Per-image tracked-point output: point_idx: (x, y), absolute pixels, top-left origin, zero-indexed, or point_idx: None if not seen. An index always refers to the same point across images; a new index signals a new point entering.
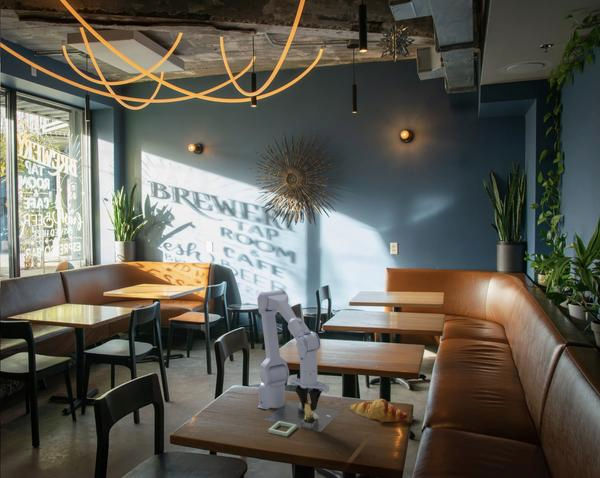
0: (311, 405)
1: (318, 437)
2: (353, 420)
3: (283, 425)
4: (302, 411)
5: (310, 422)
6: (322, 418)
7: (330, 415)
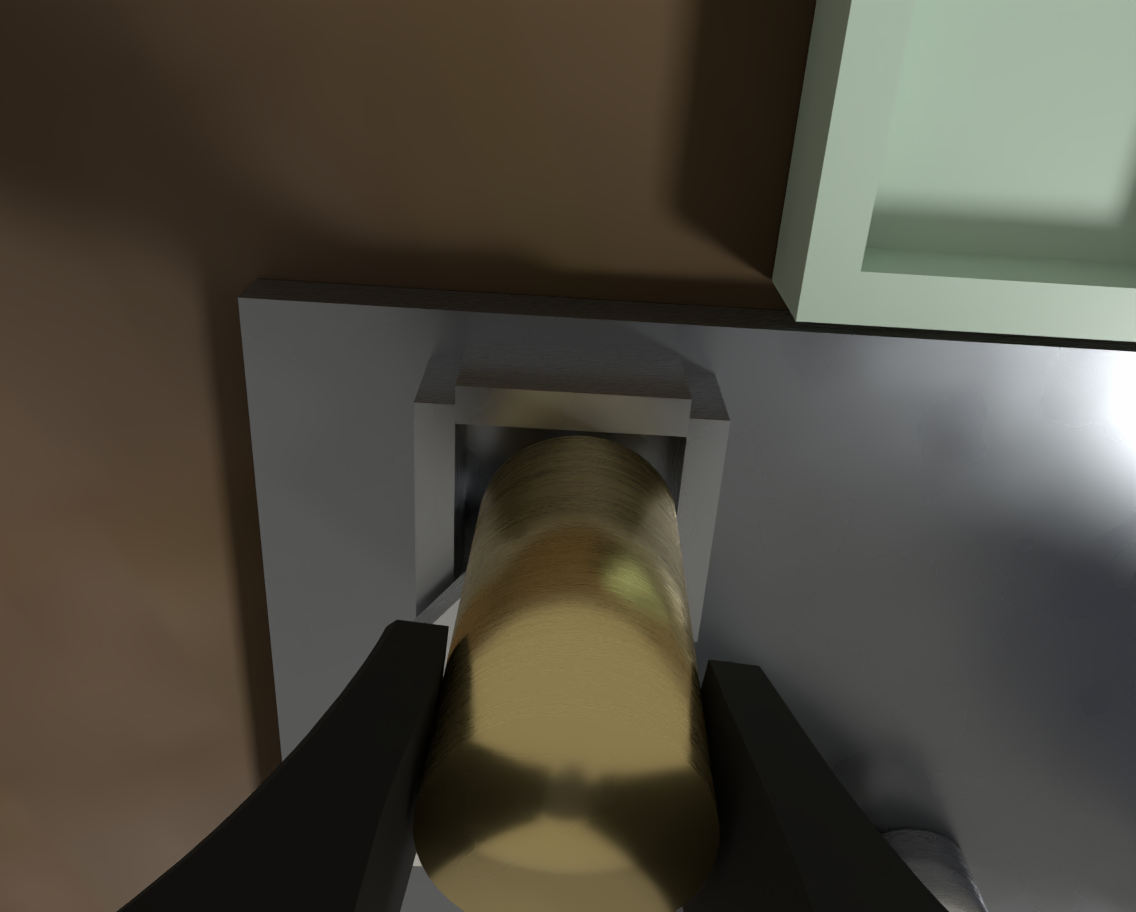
0: (397, 713)
1: (237, 158)
2: (52, 873)
3: (1104, 271)
4: None
5: None
6: None
7: None
